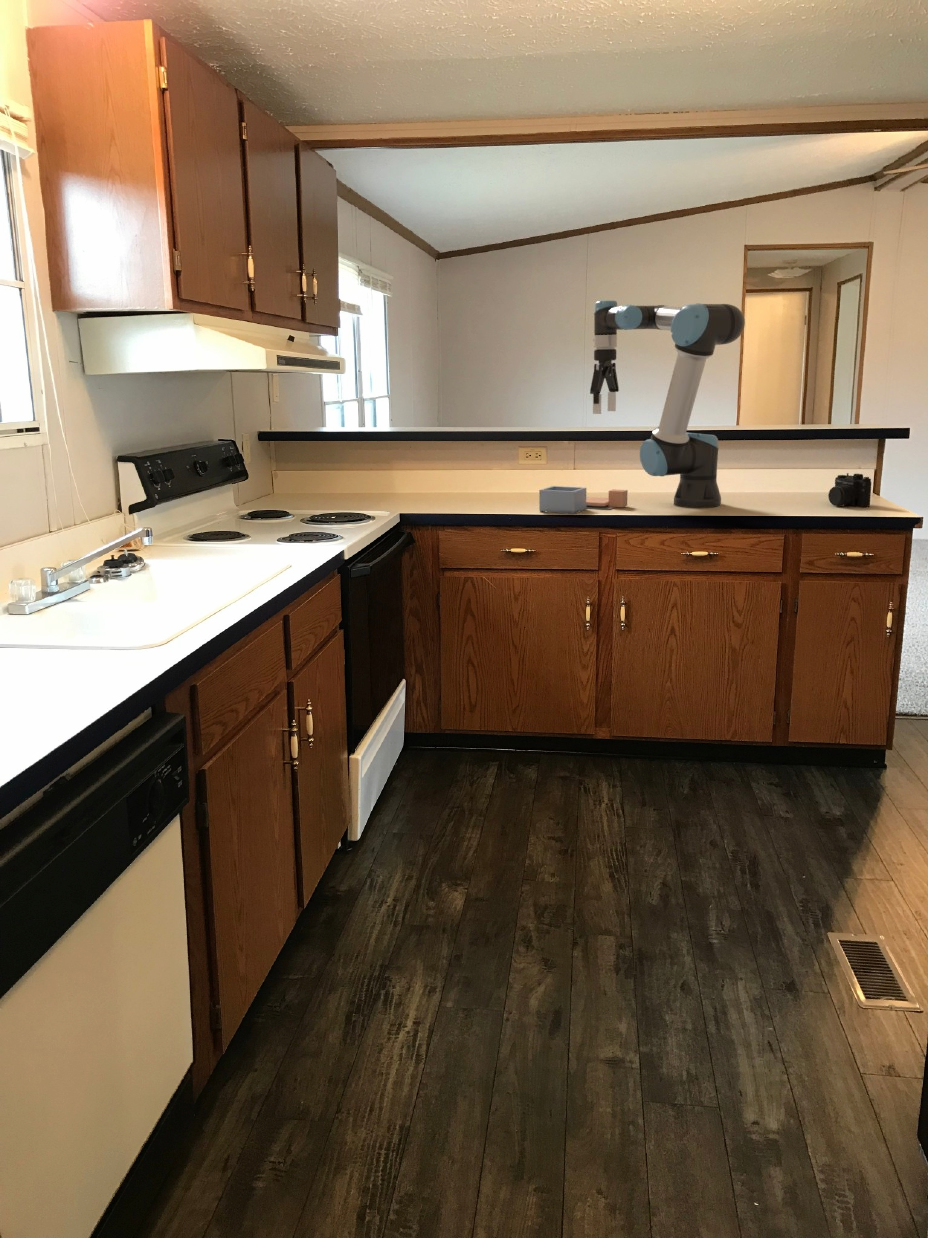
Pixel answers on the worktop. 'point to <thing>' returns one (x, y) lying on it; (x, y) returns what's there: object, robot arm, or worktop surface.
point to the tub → (562, 499)
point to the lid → (609, 499)
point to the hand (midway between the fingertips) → (604, 412)
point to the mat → (600, 507)
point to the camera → (851, 491)
